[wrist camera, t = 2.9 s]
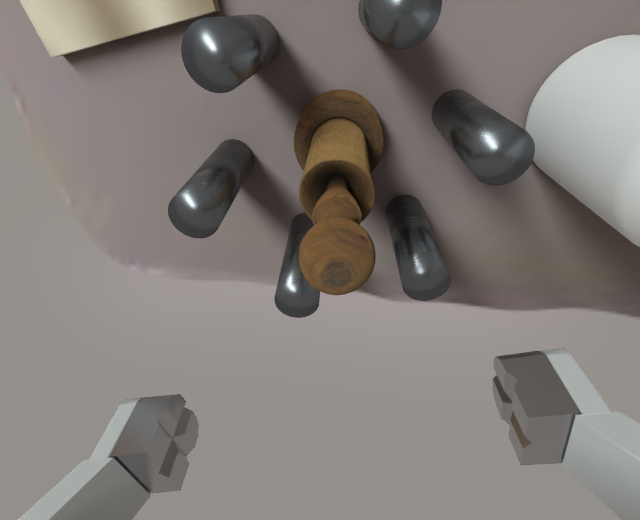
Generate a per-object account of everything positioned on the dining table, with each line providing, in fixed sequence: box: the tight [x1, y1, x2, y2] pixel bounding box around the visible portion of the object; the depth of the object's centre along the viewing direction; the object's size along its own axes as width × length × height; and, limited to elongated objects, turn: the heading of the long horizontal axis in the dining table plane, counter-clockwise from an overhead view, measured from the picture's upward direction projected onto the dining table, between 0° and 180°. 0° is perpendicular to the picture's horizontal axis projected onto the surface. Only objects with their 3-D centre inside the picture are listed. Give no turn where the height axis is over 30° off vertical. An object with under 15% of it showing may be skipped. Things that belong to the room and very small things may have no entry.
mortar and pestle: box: [294, 90, 383, 295], centre depth 21 cm, size 7×6×18 cm
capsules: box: [168, 0, 535, 318], centre depth 24 cm, size 20×18×10 cm
